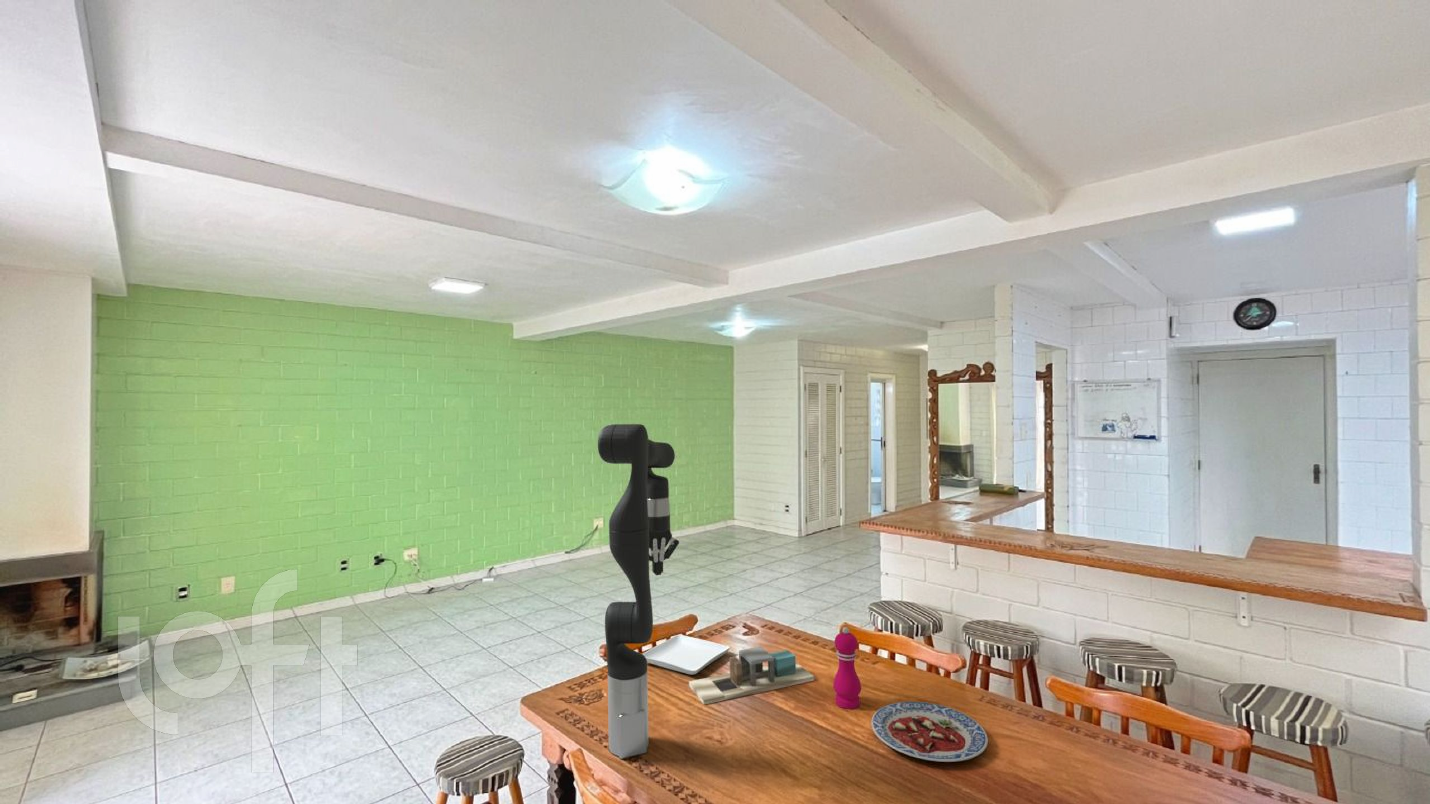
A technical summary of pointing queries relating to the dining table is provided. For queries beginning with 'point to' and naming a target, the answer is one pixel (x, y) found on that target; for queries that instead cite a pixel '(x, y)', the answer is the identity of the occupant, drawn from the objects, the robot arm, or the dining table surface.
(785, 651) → the sled
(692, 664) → the salad plate
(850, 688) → the pepper mill
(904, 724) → the ceramic plate
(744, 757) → the dining table surface
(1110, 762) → the dining table surface
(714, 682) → the deck tunnel
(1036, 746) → the dining table surface
